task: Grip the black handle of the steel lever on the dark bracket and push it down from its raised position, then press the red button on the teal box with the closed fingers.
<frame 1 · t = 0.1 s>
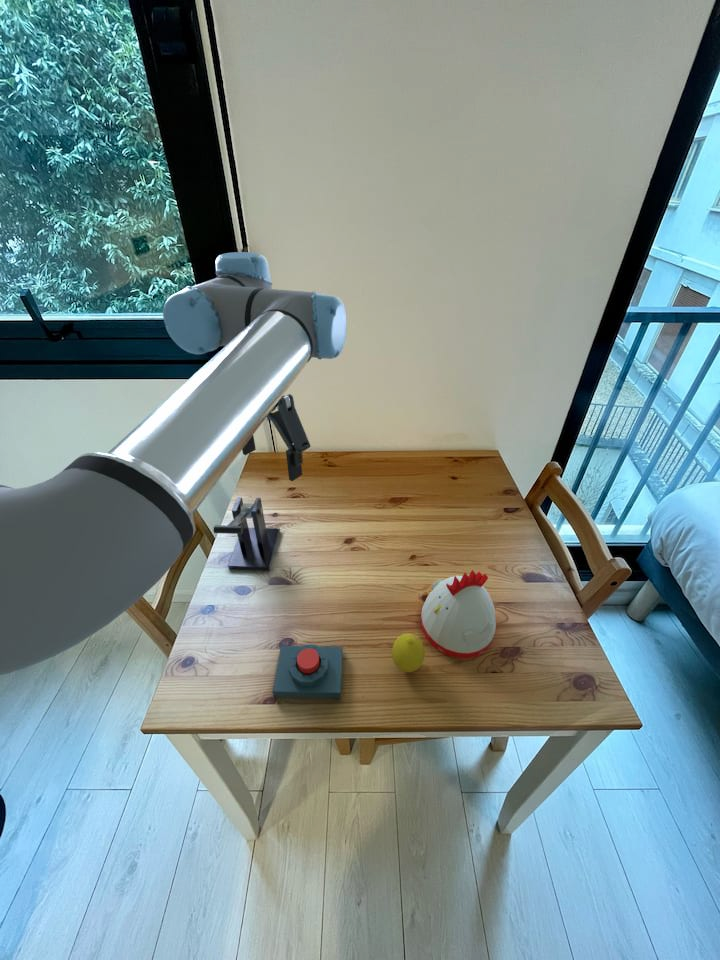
hand: (271, 464, 80), 23 cm above the table, tool pointing down, fingers open, 13 cm apart
lemon: (406, 665, 72), on the table
bracket: (255, 549, 93), on the table
kitchen timer: (456, 624, 79), on the table
button: (308, 661, 68), point 4 cm above the table, slide at 0.1 cm
lever: (239, 518, 81), point 14 cm above the table, hinge at 25.0°
button box: (310, 674, 71), on the table
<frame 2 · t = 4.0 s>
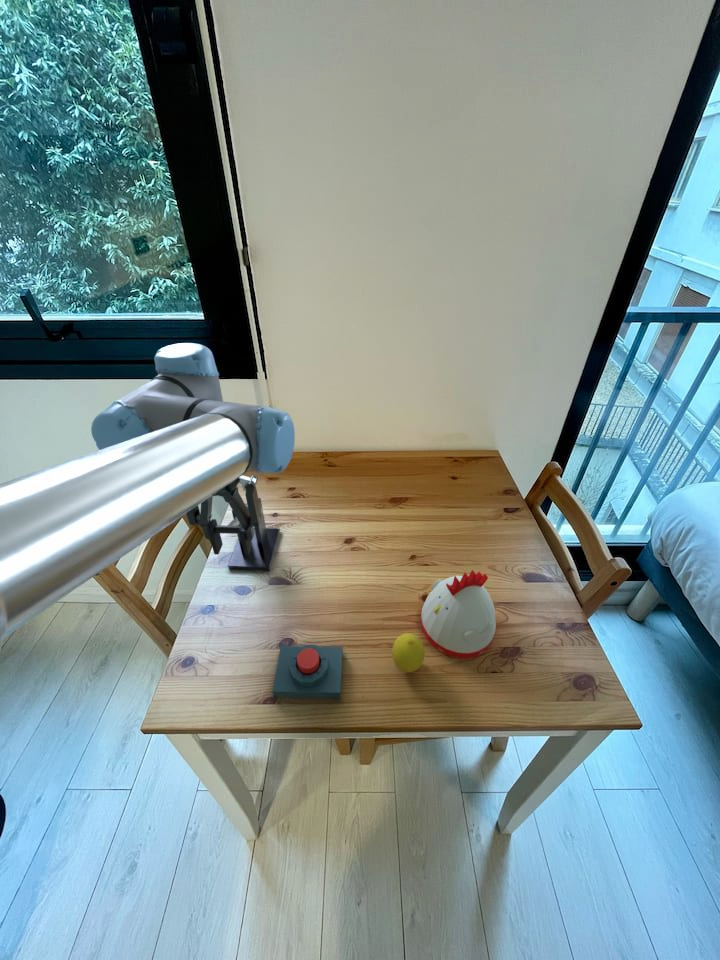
hand: (233, 549, 78), 12 cm above the table, tool pointing down, fingers closed on lever, 5 cm apart
lever: (239, 518, 81), point 14 cm above the table, hinge at 25.0°, touching gripper
everything else where it was.
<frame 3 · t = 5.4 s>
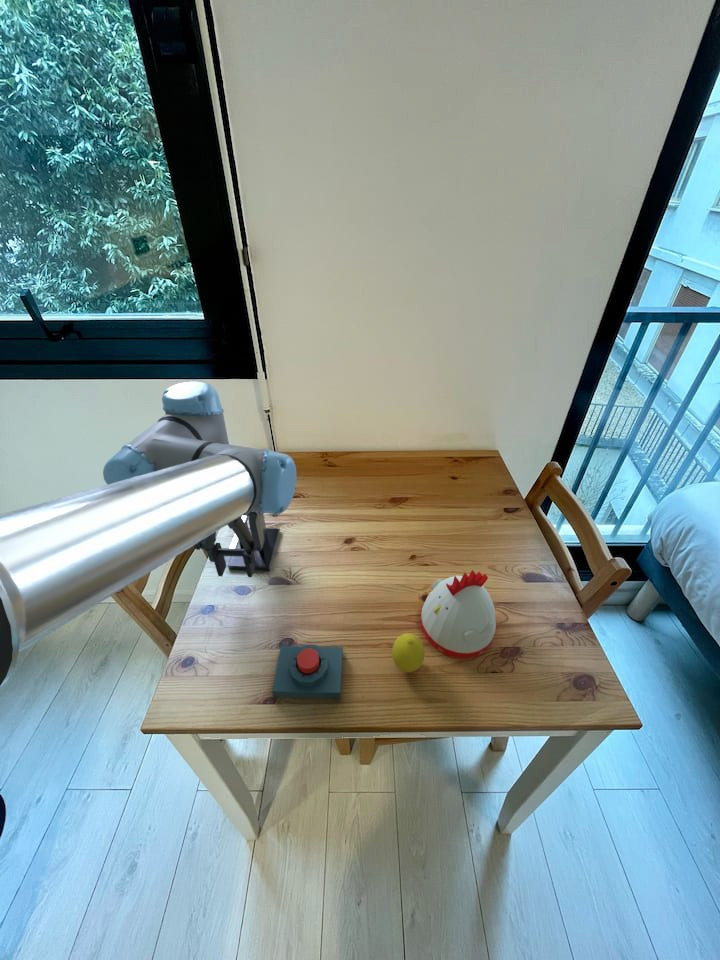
hand: (237, 571, 80), 7 cm above the table, tool pointing down, fingers closed on lever, 5 cm apart
lever: (240, 529, 82), point 12 cm above the table, hinge at 1.1°, touching gripper
everything else where it was.
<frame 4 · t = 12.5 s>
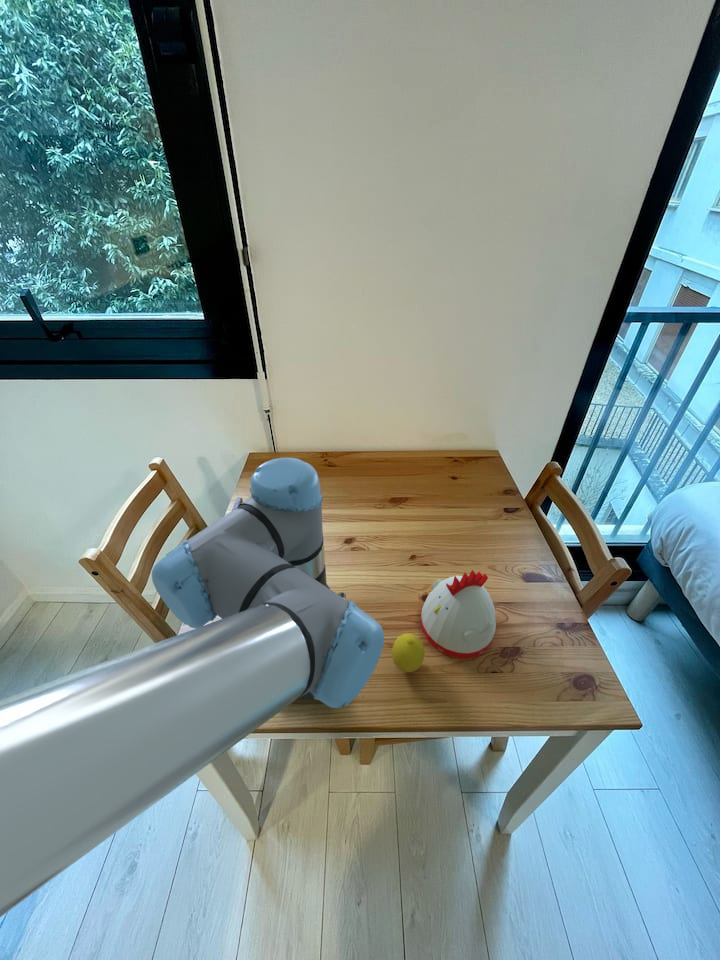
hand: (308, 659, 68), 5 cm above the table, tool pointing down, fingers closed
button: (308, 663, 68), point 4 cm above the table, slide at -0.8 cm, touching gripper
lever: (242, 534, 83), point 10 cm above the table, hinge at -16.7°
everything else where it was.
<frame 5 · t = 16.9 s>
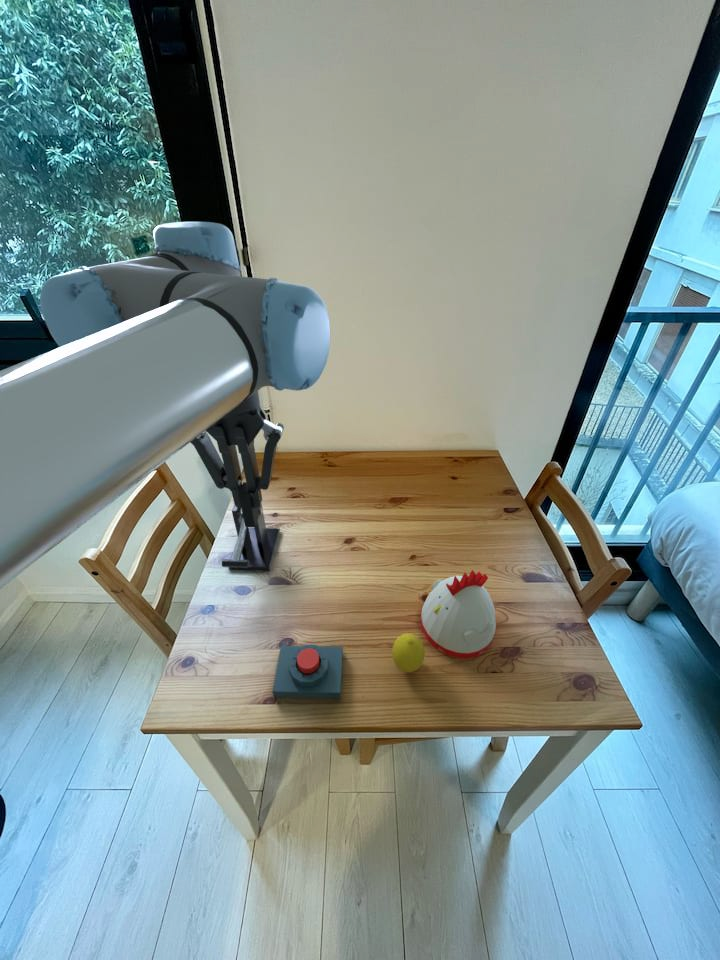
hand: (252, 520, 63), 26 cm above the table, tool pointing down, fingers closed
button: (308, 661, 68), point 4 cm above the table, slide at 0.1 cm
everything else where it was.
at the end: lever at -17° (first picture: +25°); button pushed in 1.0 cm at the most during the clip, back to where it started at the end; button slide at 0.1 cm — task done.
